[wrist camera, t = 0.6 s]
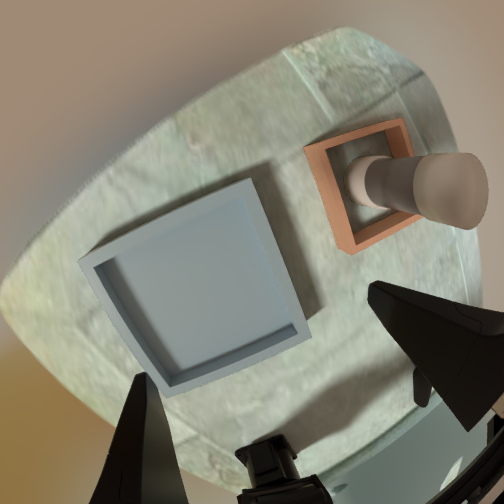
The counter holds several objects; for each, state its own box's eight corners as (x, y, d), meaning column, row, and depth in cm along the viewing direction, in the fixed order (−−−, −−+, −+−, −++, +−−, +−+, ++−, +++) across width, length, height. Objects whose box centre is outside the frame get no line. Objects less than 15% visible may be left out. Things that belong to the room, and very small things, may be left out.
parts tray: (302, 324, 26) (312, 337, 24) (167, 381, 25) (166, 398, 23) (244, 177, 22) (250, 177, 20) (87, 252, 21) (76, 260, 19)
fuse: (388, 196, 25) (491, 214, 13) (352, 212, 24) (454, 241, 13) (375, 151, 24) (480, 146, 12) (337, 165, 23) (441, 163, 12)
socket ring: (411, 210, 26) (428, 214, 23) (337, 248, 25) (351, 255, 23) (385, 120, 23) (402, 117, 21) (303, 147, 22) (315, 144, 20)
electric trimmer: (404, 402, 34) (416, 414, 31) (413, 318, 30) (430, 330, 27) (423, 390, 35) (435, 401, 32) (434, 306, 30) (451, 317, 27)
